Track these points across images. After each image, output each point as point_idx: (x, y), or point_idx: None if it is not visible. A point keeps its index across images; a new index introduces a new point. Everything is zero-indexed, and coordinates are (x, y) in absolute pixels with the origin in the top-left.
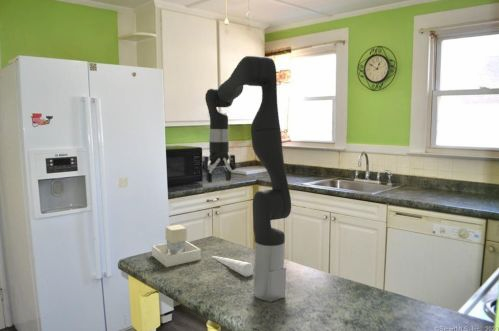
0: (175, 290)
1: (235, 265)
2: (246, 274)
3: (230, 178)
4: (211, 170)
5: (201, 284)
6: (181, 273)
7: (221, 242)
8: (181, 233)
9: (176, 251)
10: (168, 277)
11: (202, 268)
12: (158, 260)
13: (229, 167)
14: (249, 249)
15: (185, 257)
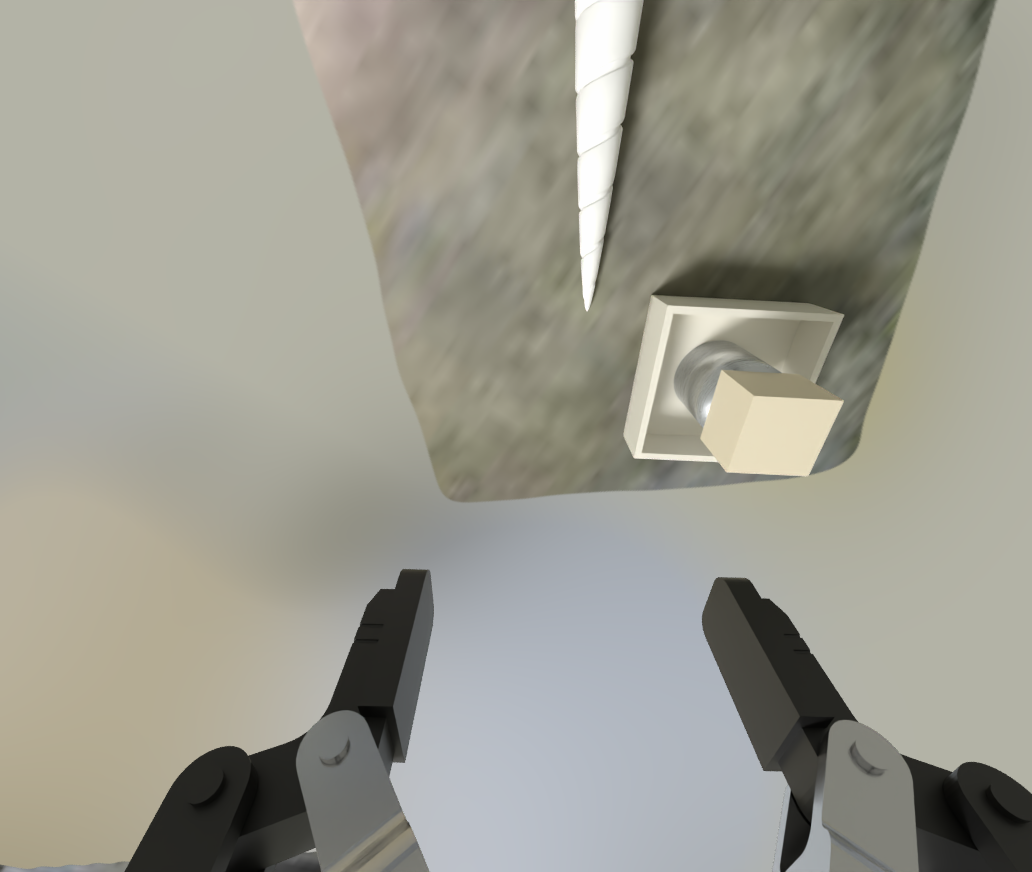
0: (987, 26)
1: (639, 19)
2: None
3: (378, 599)
4: (856, 785)
5: (859, 5)
6: (811, 211)
7: (447, 432)
8: (770, 387)
9: (755, 356)
10: (879, 205)
11: (707, 205)
12: None
13: (343, 825)
14: (384, 285)
15: (738, 304)
